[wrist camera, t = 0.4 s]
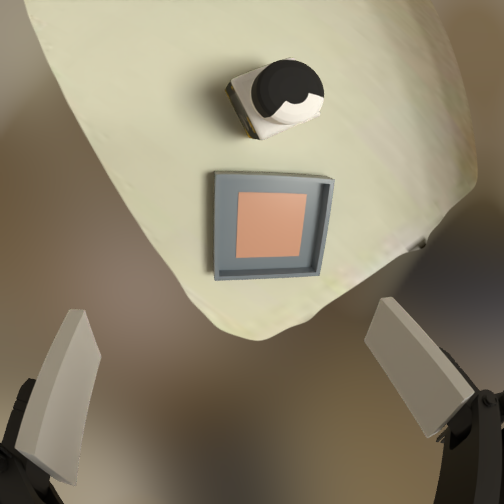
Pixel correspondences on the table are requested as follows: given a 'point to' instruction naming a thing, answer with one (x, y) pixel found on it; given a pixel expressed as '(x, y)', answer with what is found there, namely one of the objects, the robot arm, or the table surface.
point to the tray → (269, 224)
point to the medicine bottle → (276, 97)
